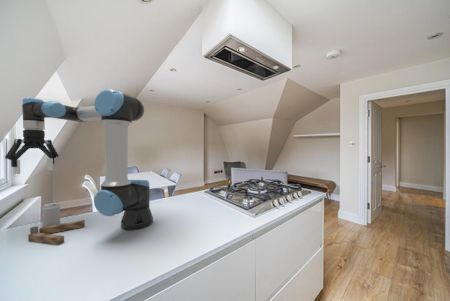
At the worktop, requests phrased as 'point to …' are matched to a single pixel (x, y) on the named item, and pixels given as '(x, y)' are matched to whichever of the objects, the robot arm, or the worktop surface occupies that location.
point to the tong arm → (62, 227)
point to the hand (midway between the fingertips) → (34, 172)
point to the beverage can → (50, 214)
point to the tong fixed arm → (44, 237)
